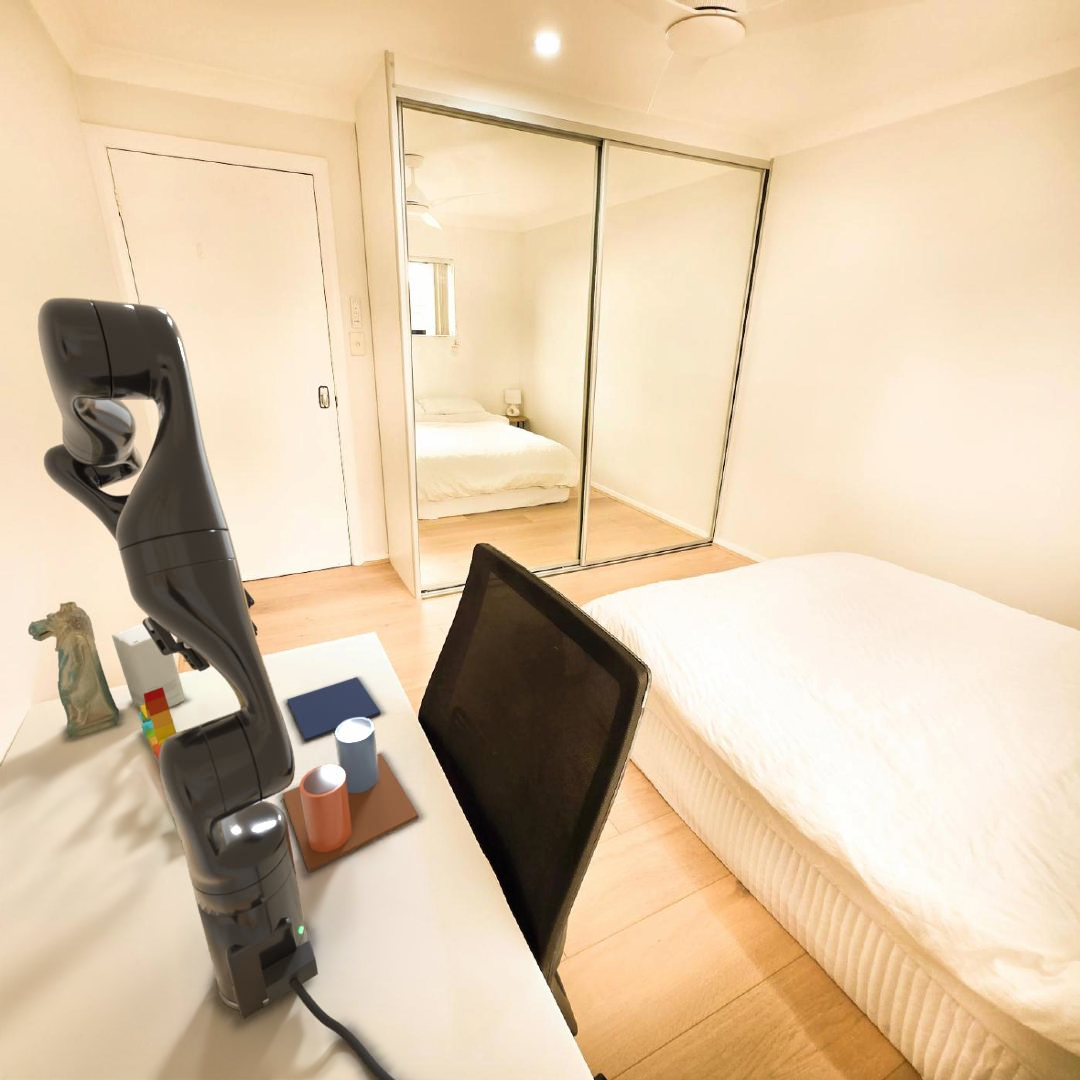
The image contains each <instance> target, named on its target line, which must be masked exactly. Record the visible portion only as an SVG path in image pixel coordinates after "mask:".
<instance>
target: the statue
mask: <svg viewBox="0 0 1080 1080" xmlns="http://www.w3.org/2000/svg"><path fill="white" fill-rule="evenodd" d="M59 606H60V607H59V609H58V610H57V611H55V612H51V613H48V614H47V615H46V618H42V619H39V620H36V621H31V622H30V624H29V625H28V629H27V631H28V635H30V636H32V639H33V640H35V641H36V642H37V641H38V642H43V641H45V640H47V639H49V638H51V637H54V638H56V642H55V648H54V651H55V652H57V661H58V662H57V663H58V664H57V666H58V681H57V689H58V695H59V699H60V702H61V704H62V706H63V709H64V712H65V715H66V720H67V722H66V730H67V731H66V733H67V736H68V739H70V740H71V739H72V740H73V739H78V738H81V737H84V736H87V735H90V734H94V733H97V732H99V731H103V730H106V729H109V728H112V727H115V726H117V725H118V723H119V719H120V718H119V717H120V709H119V708H118V707H117V704H116V702H115V699H114V698H113V695H112V693H111V690H110V686H109V684H108V680H107V677H106V675H105V671H104V669H103V666H102V662H101V659H100V656H99V652H98V649H97V645H96V643H95V641H96V638H95V632H94V629H93V625H92V620H91V617H90V616H89V615H88V614H87V611H85V610H84V609H83V608H81V607H80V606H78V604H77V603H76V601H68V602H64V603H63V602H61V603H60V604H59Z"/></svg>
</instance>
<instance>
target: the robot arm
mask: <svg viewBox="0 0 1080 1080" xmlns="http://www.w3.org/2000/svg"><path fill="white" fill-rule="evenodd" d="M37 333H38V342H39V347H40V352H41V356H42V360H43V365H44V367H45V368H44V369H45V372H46V376H47V379H48V381H49V385H50V388H51V392H52V394H53V397H54V400H55V403H56V405H57V407H58V409H59V412H60V415H61V418H62V419H61V422H62V423H61V424H62V425H61V426H62V428H61V429H62V430H61V432H62V435H61V436H62V437H61V438H62V443H61V444H58V445H54V446H52V447H50V448H49V449H47V450H46V452H45V453H44V455H43V467H44V470H45V471H46V473H47V475H48V476H49V478H50V479H51V480H52V481H53V482H54V483H55V484H56V485H58V487H60V488H61V489H62V490H63V491H65V492H66V493H67V494H69V495H70V496H71V497H73V498H74V499H75V500H77V501H78V502H79V503H81V504H82V505H83V506H84V507H85V508H86V509H88V510H89V511H90V512H91V513H92V514H93V515H94V516H95V517H96V518H97V519H99V521H100V522H101V523H102V525H104V526H105V528H106V529H107V531H108V532H109V533H110V535H111V537H112V538H113V539H114V541H116V542H115V543H117V547H118V551H119V555H120V559H121V563H122V566H123V569H124V574H125V577H126V580H127V586H128V589H129V591H130V595H131V597H132V599H133V600H134V602H135V603H136V605H137V606H138V607H139V608H140V609H141V610H142V612H144V613H145V614H146V615H147V617H145V618H143V620H142V623H141V624H143V625H144V627H145V628H146V630H147V631H148V633H149V635H150V636H151V638H152V639H153V641H154V642H155V644H156V645H157V647H158V649H159V650H160V652H161V653H162V654H163V655H165V656H166V655H169V654H173V655H174V654H180V655H182V657H183V659H184V660H185V661H186V663H188V665H189V666H190V668H191V669H192V670H194V671H198V672H203V671H205V670H207V669H209V668H210V667H211V666H212V668H213V669H214V670H216V671H217V672H218V673H219V674H220V675H221V676H222V678H223V679H224V680H225V681H226V682H227V683H228V685H229V687H230V688H231V690H232V691H233V693H234V694H235V696H236V699H237V701H238V704H239V707H240V708H239V709H237V710H236V711H234V712H230V713H227V714H225V715H222V716H220V717H217V718H214V719H211V720H208V721H206V722H203V723H200V724H198V725H195V726H192V727H189V728H187V729H183V730H181V731H178V732H176V734H174V735H172V736H170V737H168V738H167V739H166V740H165V741H164V742H163V744H162V746H161V748H160V752H159V758H158V759H157V761H158V763H157V764H158V771H159V772H158V773H159V778H160V783H161V787H162V789H163V792H164V796H165V798H166V802H167V805H168V807H169V810H170V813H171V815H172V818H173V821H174V822H175V826H176V829H177V832H178V835H179V838H180V841H181V845H182V848H183V852H184V856H185V857H184V858H185V861H186V865H187V869H188V875H189V879H190V882H191V886H192V889H193V893H194V897H195V903H196V907H197V909H198V913H199V917H200V922H201V925H202V929H203V932H204V936H205V940H206V944H207V948H208V951H209V956H210V959H211V963H212V968H213V970H214V974H215V979H216V986H217V990H218V994H219V996H220V997H219V998H221V1000H222V1001H223V1003H224V1004H226V1005H227V1006H228V1007H229V1008H231V1009H234V1010H238V1011H239V1014H240V1018H241V1019H245V1018H247V1017H249V1016H251V1015H252V1014H254V1013H255V1012H257V1011H259V1010H260V1009H262V1008H263V1007H266V1006H267V1005H269V1004H272V1003H274V1002H275V1001H277V1000H278V999H280V998H282V997H283V996H285V995H286V994H289V993H290V992H291V991H294V993H295V994H296V995H297V996H298V998H299V999H300V1001H301V1002H302V1003H303V1004H304V1006H305V1007H306V1009H307V1010H308V1011H309V1012H310V1013H311V1014H312V1015H313V1017H315V1018H316V1019H317V1021H318V1022H319V1023H321V1024H322V1025H323V1026H325V1027H326V1028H328V1029H329V1030H330V1031H333V1032H334V1033H335V1034H337V1035H338V1036H339V1037H340V1038H342V1039H343V1041H345V1042H346V1043H347V1044H348V1045H349V1046H350V1047H351V1049H352V1050H353V1051H354V1052H355V1053H356V1055H357V1056H358V1057H359V1058H360V1059H361V1061H362V1062H363V1063H364V1065H365V1066H366V1067H367V1069H369V1071H370V1072H371V1073H372V1074H373V1076H375V1078H377V1079H378V1080H396V1079H395V1078H394V1077H392V1076H391V1075H390V1074H389V1073H388V1072H387V1071H386V1070H385V1069H384V1068H383V1067H382V1066H381V1065H380V1064H379V1062H377V1060H376V1059H374V1057H373V1056H372V1055H371V1053H370V1052H369V1051H368V1049H367V1048H366V1047H365V1046H364V1045H363V1043H362V1042H361V1041H360V1040H359V1039H358V1038H357V1037H356V1036H355V1035H354V1034H353V1033H352V1032H351V1031H350V1030H349V1029H348V1028H347V1027H346V1026H345V1025H343V1024H342V1023H340V1022H339V1021H337V1020H336V1019H334V1018H333V1017H331V1016H330V1015H329V1014H328V1013H326V1012H325V1011H324V1009H322V1007H321V1006H319V1004H318V1003H317V1002H316V1001H315V1000H314V999H313V997H312V996H311V994H309V992H308V991H307V990H306V988H305V987H304V986H303V984H305V983H306V982H308V981H309V980H311V979H313V978H314V977H316V976H318V975H319V972H318V966H317V959H316V956H315V952H314V949H313V946H312V943H311V940H310V939H309V936H308V933H307V929H306V923H305V918H304V913H303V907H302V901H301V895H300V890H299V884H298V878H297V872H296V871H297V870H296V866H295V860H294V855H293V848H292V847H293V846H292V841H291V836H290V829H289V828H290V827H289V823H288V820H287V816H286V815H285V813H284V811H283V810H282V809H281V808H280V807H279V806H278V805H276V804H275V803H272V802H269V801H266V800H267V799H269V798H271V797H273V796H275V795H277V794H279V793H281V792H283V791H284V790H286V789H287V788H289V787H290V786H291V784H293V781H294V779H295V774H296V761H295V754H294V749H293V744H292V740H291V738H290V734H289V732H288V729H287V725H286V722H285V719H284V716H283V713H282V710H281V707H280V704H279V702H278V698H277V696H276V693H275V690H274V687H273V685H272V684H273V683H272V681H271V678H270V675H269V673H268V670H267V667H266V664H265V661H264V658H263V655H262V652H261V648H260V646H259V643H258V639H257V636H258V627H257V626H256V624H255V623H254V620H253V619H252V616H251V613H250V609H251V607H253V606H254V605H255V600H254V598H253V597H252V596H251V594H249V592H248V591H247V590H246V588H245V587H244V583H243V579H242V574H241V570H240V565H239V561H238V558H237V554H236V550H235V547H234V543H233V540H232V535H231V532H230V528H229V525H228V522H227V518H226V515H225V512H224V509H223V505H222V503H221V499H220V497H219V493H218V490H217V486H216V482H215V479H214V476H213V471H212V468H211V465H210V462H209V457H208V454H207V451H206V446H205V441H204V437H203V432H202V427H201V422H200V417H199V416H200V415H199V412H198V411H199V410H198V406H197V401H196V395H195V390H194V385H193V380H192V375H191V370H190V364H189V360H188V355H187V350H186V347H185V343H184V340H183V338H182V335H181V334H182V333H181V332H180V329H179V327H178V325H177V323H176V321H175V320H174V318H173V317H172V315H171V314H170V313H169V312H168V311H167V310H165V309H163V308H161V307H157V306H153V305H148V304H142V303H141V304H140V303H129V302H123V301H112V300H102V299H92V298H89V299H88V298H83V297H82V298H80V297H53V298H49V299H47V300H46V301H44V302H43V304H42V305H41V307H40V309H39V312H38V315H37ZM139 400H140V401H142V400H143V401H145V400H146V401H152V402H154V403H155V406H156V408H157V415H158V422H157V423H158V425H157V430H156V434H155V437H154V441H153V444H152V447H151V450H150V452H149V455H148V457H147V460H146V463H145V465H144V461H143V457H142V455H141V452H140V451H139V449H138V447H137V446H136V445H135V439H136V435H137V422H136V419H135V416H134V414H133V413H132V411H131V409H130V408H129V407H128V405H126V403H124V402H123V401H139ZM140 472H141V473H140ZM139 473H140V474H139ZM137 475H139V476H138V478H137V480H136V482H135V484H134V486H133V487H132V489H131V491H130V493H128V494H119V495H118V494H117V495H115V494H111V493H108V492H106V491H104V490H102V489H104V488H106V487H110V486H113V485H115V484H118V483H121V482H124V481H126V480H129V479H131V478H135V476H137ZM174 637H175V638H176V640H175V638H174Z"/></svg>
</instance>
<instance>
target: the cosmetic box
mask: <svg viewBox="0 0 1080 1080" xmlns="http://www.w3.org/2000/svg"><path fill="white" fill-rule="evenodd" d="M111 638H112V641H113V643H114V647H115V650H116V654H117V657H118V660H119V663H120V667H121V670H122V673H123V676H124V679H125V682H126V685H127V688H128V691H129V694H130V698H131V702H132V703H133V704H134V705H135V706H137V707H138V708H140V706H141V705H144V704H145V700H144V694H145V693H147V692H150V691H153V690H156V689H159V688H161V687H163V690H164V693H165V696H166V700H167V703H168V706H169V709H170V708H172V707H174V706H176V705H178V704H180V703H183V702H184V701H185V700H186V697H185V693H184V689H183V688H184V687H183V686H182V681H181V678H180V674H179V671H178V667H177V663H176V658H175V655H174V653H173V654H169V655H166V656H165V655H163V654H162V653H161V652H160V650H159V649H158V647H157V645H156V644H155V642H154V641H153V639H152V638H151V636H150V635H149V633H148V631H147V630H146V628H145V627H144V625H143V623H140V624H136V625H135V626H131V627H130V628H127V629H124V630H121V631H119V632H116V633H113V634H111Z"/></svg>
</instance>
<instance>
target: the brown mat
mask: <svg viewBox="0 0 1080 1080" xmlns="http://www.w3.org/2000/svg"><path fill="white" fill-rule="evenodd" d="M377 759H378V770H379V779H378V781H377V783H376V784H375V785H374V786H373V787H372V788H370V789H369V790H367V791H365V792H361V793H348V799H349V807H350V816H351V824H352V833H351V835H350V837H349V839H348V840H347V841H346V843H345V844H343V845H342V846H341V847H339V848H338V849H336V850H333V851H330V852H316V851H314V850H312V849H311V848H310V846H309V844H308V839H307V833H306V826H305V820H304V813H303V807H302V800H301V794H300V785H298V786H297V787H294V788H292V789H290V790H288V791H285V792H283V793H282V798H283V801H284V803H285V807H286V809H287V812H288V815H289V818H290V821H291V824H292V826H293V830H294V833H295V836H296V838H297V839H296V840H297V842H298V844H299V848H300V850H301V853H302V858H303V860H304V862H305V866H306V868H307V871H308V873H311V872H313V871H315V870H317V869H319V868H321V867H324V866H325V865H327V864H329V863H331V862H333V861H335V860H337V859H340V858H341V857H343V856H345V855H347V854H349V853H351V852H353V851H355V850H357V849H359V848H361V847H363V846H364V845H367V844H369V843H371V842H372V841H375V840H377V839H379V838H381V837H383V836H385V835H388V834H389V833H391V832H393V831H395V830H397V829H399V828H401V827H403V826H405V825H407V824H409V823H410V822H413V821H414V820H417V819H419V817H420V815H419V813H418V811H417V809H416V808H415V806H414V805H413V803H412V800H410V798H409V796H408V795H407V793H406V792H405V790H404V788H403V787H402V785H401V784H400V782H399V780H398V779H397V777H396V776H395V774H394V772H393V770H392V769H391V767H390V765H389V764H388V762H387V761H386V759H385V757H384V756H383V754H382V753H381V752H380V753H377Z"/></svg>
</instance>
